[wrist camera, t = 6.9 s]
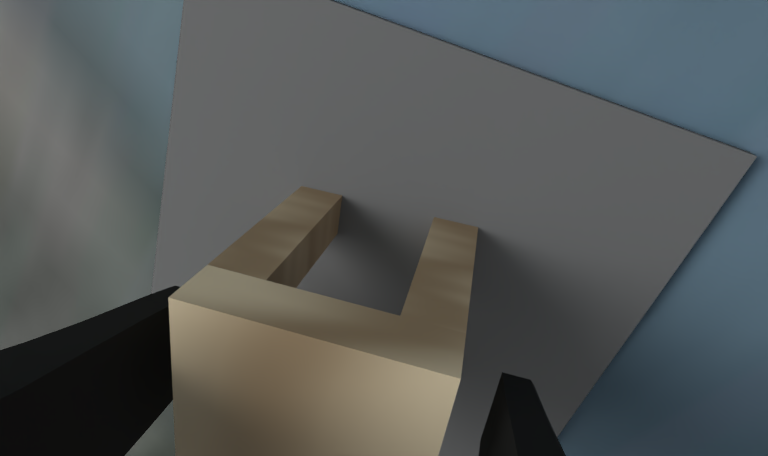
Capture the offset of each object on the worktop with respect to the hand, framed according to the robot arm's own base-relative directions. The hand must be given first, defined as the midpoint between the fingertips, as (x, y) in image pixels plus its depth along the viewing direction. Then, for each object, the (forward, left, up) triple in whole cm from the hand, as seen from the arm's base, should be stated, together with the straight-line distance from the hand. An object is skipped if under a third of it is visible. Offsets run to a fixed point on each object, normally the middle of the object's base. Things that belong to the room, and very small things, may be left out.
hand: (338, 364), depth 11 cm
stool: (0, 0, -4) cm, 4 cm away
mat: (0, 0, -4) cm, 4 cm away
